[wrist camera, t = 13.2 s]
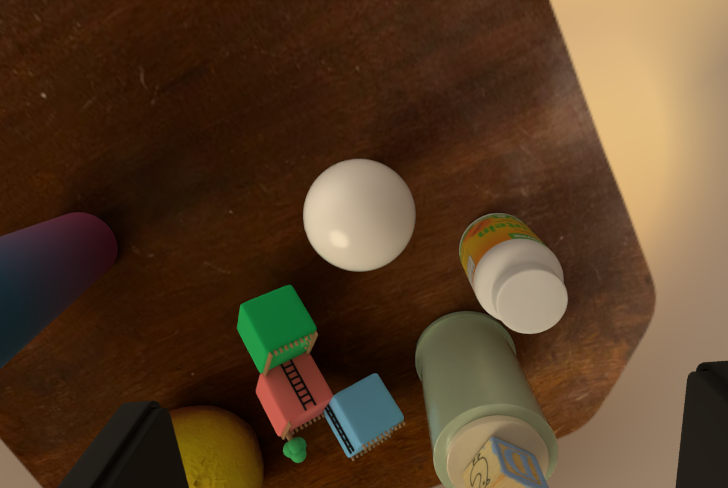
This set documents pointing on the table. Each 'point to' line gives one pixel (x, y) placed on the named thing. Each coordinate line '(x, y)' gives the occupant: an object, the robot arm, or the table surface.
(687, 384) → the robot arm
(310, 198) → the lightbulb
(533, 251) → the supplement bottle
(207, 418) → the fruit
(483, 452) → the alphabet block
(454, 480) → the upturned tumbler
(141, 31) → the table surface
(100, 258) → the cup
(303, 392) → the building blocks
